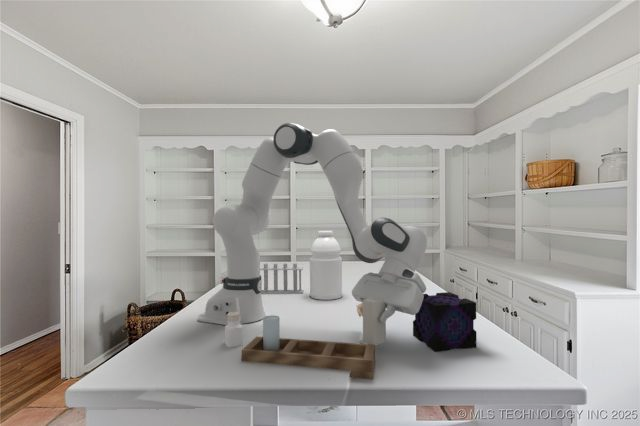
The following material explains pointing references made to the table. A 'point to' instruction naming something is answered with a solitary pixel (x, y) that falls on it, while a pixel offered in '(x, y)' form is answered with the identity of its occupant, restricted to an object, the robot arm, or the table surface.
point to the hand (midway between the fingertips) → (372, 319)
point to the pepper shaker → (233, 330)
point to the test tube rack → (284, 280)
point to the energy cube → (446, 322)
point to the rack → (316, 355)
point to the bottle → (325, 267)
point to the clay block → (373, 321)
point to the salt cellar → (271, 333)
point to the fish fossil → (360, 309)
